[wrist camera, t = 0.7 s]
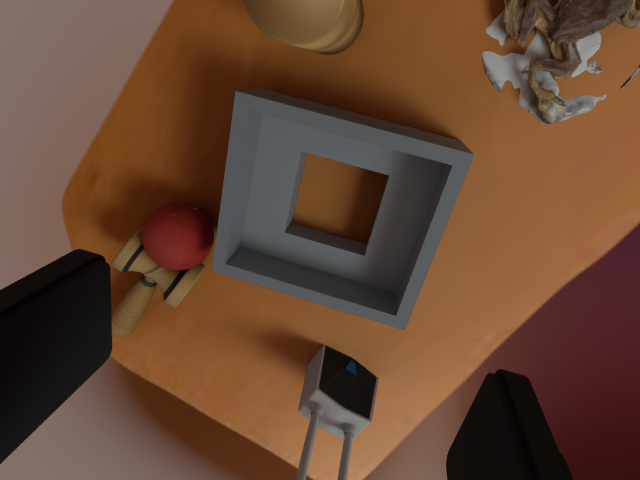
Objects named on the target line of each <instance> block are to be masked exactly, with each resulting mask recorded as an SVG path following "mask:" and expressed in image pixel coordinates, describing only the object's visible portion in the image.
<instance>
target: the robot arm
mask: <svg viewBox="0 0 640 480" xmlns="http://www.w3.org/2000/svg"><path fill="white" fill-rule="evenodd" d="M111 351H112V318H111V279H110V266H109V264H108V263H106V260H105V258H104V257H103V256H102V255H100V254H96V253H93V252H89V251H85V250H82V249H77V250H74V251H72V252H70V253H68V254H66V255H65V256H63V257H61V258H59V259H57V260H55V261H53V262H52V263H50V264H48V265H46V266H44V267H42V268H40V269H39V270H37V271H35V272H33V273H31V274H29V275H27V276H26V277H24V278H22V279H20V280H18V281H16V282H14V283H13V284H11V285H9V286H7V287H5V288H3V289H1V290H0V464H1V463H2V462H3V461H4V460H5V459H6V458H7V457H8V456H9V455H10V454H11V453H12V452H13V451H14V450H15V449H16V448H17V447H18V446H19V445H20V444H21V443H22V442H23V441H24V440H26V438H28V437H29V435H31V434H32V433H33V432H34V431H35V430H36V429H37V428H38V427H39V426H40V425H41V424H42V423H43V422H44V421H45V420H46V419H47V418H48V417H49V416H50V415H51V414H52V413H53V412H54V411H55V410H56V409H57V408H58V407H59V406H61V404H62V403H64V402H65V401H66V400H67V399H68V398H69V397H70V396H71V395H72V394H73V393H74V392H75V391H76V390H77V389H78V388H79V387H80V386H81V385H82V384H83V383H84V382H85V381H86V380H87V379H88V378H89V377H90V376H91V375H92V374H93V373H94V372H96V370H98V369H99V367H101V366H102V365H103V364H104V363H105V362H106V360H107V359H108V358H109V356H110V354H111ZM446 470H447V479H448V480H573V478H572V475H571V473H570V471H569V468H568V466H567V463H566V461H565V459H564V458H563V456H562V454H561V453H560V452H559V450H558V448H557V445H556V443H555V440H554V438H553V435H552V433H551V431H550V428H549V426H548V423H547V421H546V419H545V416H544V414H543V411H542V409H541V407H540V404H539V402H538V399H537V397H536V395H535V392H534V390H533V387H532V385H531V383H530V381H529V379H528V377H526V376H524V375H520V374H516V373H513V372H510V371H506V370H503V369H499V370H497V371H496V373H495V374H493V373H488V374H487V376H486V377H485V379H484V381H483V383H482V385H481V387H480V389H479V392H478V393H477V395H476V397H475V399H474V401H473V403H472V405H471V407H470V409H469V411H468V413H467V415H466V417H465V419H464V422H463V423H462V425H461V427H460V429H459V431H458V433H457V435H456V437H455V439H454V442H453V444H452V445H451V448H450V449H449V452H448V455H447V461H446Z"/></svg>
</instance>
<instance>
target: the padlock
mask: <svg viewBox="0 0 640 480" xmlns="http://www.w3.org/2000/svg"><path fill="white" fill-rule="evenodd" d="M378 380H379V379H378V378H377V377H376V376H375V375H373V374H372V373H371V372H370V371H368V370H367V369H366V368H365V367H363V366H362V365H361V364H360V363H358V362H357V361H356V360H355V359H353V358H351V357H349V356H347V355H344V354H342V353H340V352H338V351H336V350H334V349H332V348H329V347H327V346H325V345H323V346H322V347H321V348H320V350H319V351H318V352H317V354H316V355H315V356H314V357H313V359H312V360H311V361H310V362H309V364H308V365H307V370H306V375H305V380H304V384H303V389H302V394H301V399H300V404H299V408H298V410H299V412H300V413H302V414H303V415H304V416H306V417H307V418H308V419H309V420H310V424H309V427H308V431H307V435H306V439H305V443H304V447H303V451H302V455H301V459H300V464H299V468H298V473H297V478H296V480H306V475H307V469H308V465H309V460H310V455H311V451H312V447H313V442H314V438H315V433H316V429H317V426H318V427H320V428H321V429H322V430H324V431H326V432H328V433H330V434H332V435H335V436H337V437H339V438H341V439H344V443H343V450H342V456H341V462H340V468H339V474H338V480H347V473H348V466H349V459H350V452H351V444H352V440H353V439H354V438H355V437H356V436H357V435H358V434H359V433H360V432H361V431H362V430H363V429H364V428H365V427H366V426H367V425H368V424H369V423H370V422H371V420H372V414H373V409H374V403H375V397H376V392H377V386H378Z"/></svg>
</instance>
